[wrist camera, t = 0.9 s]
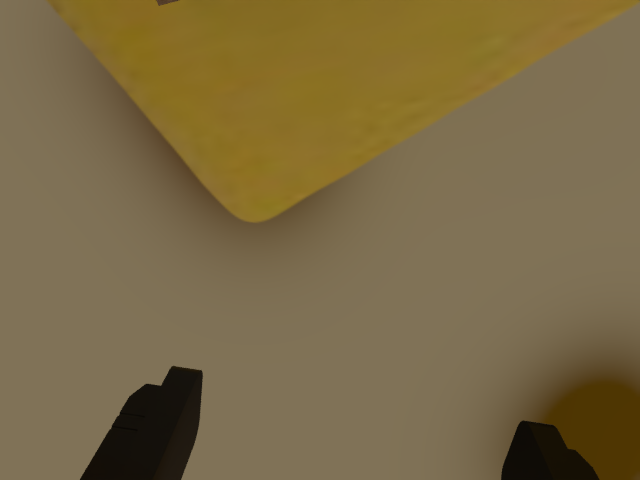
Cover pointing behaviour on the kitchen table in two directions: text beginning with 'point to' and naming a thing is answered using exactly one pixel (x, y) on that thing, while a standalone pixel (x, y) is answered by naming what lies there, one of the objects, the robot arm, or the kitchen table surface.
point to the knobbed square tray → (165, 1)
